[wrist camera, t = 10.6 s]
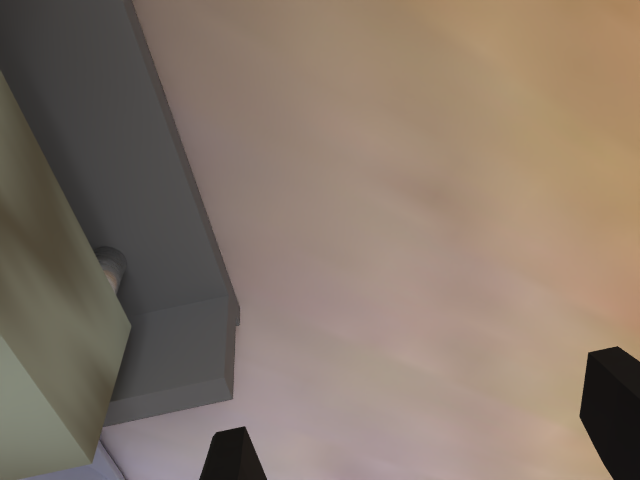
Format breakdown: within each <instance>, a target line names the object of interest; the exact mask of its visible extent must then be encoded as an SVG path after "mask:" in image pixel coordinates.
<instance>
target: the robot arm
mask: <svg viewBox="0 0 640 480" xmlns="http://www.w3.org/2000/svg"><path fill="white" fill-rule="evenodd" d="M580 419H581V421H582V423H583V425H584V427H585V429H586V431H587V433H588V435H589V437H590V439H591V441H592V443H593V445H594V447H595V449H596V450H597V452H598V454H599V456H600V458H601V460H602V462H603V464H604V465H605V467H606V469H607V470H608V472H609V473H610V475H611V476H612V478H613V479H614V480H640V362H639V361H638V360H637V359H635V358H634V357H632V356H631V355H629V354H628V353H627V352H625V351H624V350H622V349H621V348H619V347H618V346H617V347H612V348H607V349H603V350H598V351H593V352H589V353H588V359H587V366H586V373H585V381H584V388H583V395H582V402H581V409H580ZM19 480H125V478H124V477H123V475H122V474H121V472H120V471H119V469H118V468H117V466H116V465H115V463H114V462H113V460H112V459H111V457H110V456H109V454H108V453H107V451H106V450H105V448H104V447H103V445H102V444H101V442H100V441H98V445H97V448H96V452H95V455H94V459H93V462H92V464H89V465H84V466H80V467H75V468H70V469H66V470H61V471H56V472H52V473H47V474H42V475H37V476H33V477H28V478H23V479H19ZM199 480H267V478H266V476H265V473H264V471H263V468H262V466H261V463H260V461H259V459H258V456H257V454H256V451H255V449H254V446H253V444H252V442H251V439H250V437H249V434H248V432H247V429H246V427H245V426H244V427H239V428H235V429H230V430H225V431H221V432H216V434H215V435H214V436H213V438H212V441H211V444H210V448H209V451H208V454H207V458H206V461H205V464H204V467H203V470H202V473H201V476H200V479H199Z"/></svg>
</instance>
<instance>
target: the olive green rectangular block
mask: <svg viewBox="0 0 640 480" xmlns="http://www.w3.org/2000/svg"><path fill="white" fill-rule="evenodd" d="M130 330H131V324H130V322H129V320H128V318H127V316H126V314H125V312H124V310H123V308H122V306H121V304H120V302H119V300H118V298H117V296H116V295H115V293H114V291H113V289H112V287H111V285H110V283H109V281H108V279H107V277H106V275H105V273H104V271H103V269H102V267H101V265H100V263H99V261H98V259H97V257H96V256H95V254H94V252H93V250H92V248H91V246H90V244H89V242H88V240H87V238H86V236H85V234H84V232H83V230H82V228H81V226H80V224H79V222H78V220H77V218H76V217H75V215H74V213H73V211H72V209H71V207H70V205H69V203H68V201H67V199H66V197H65V195H64V193H63V191H62V189H61V187H60V185H59V183H58V181H57V179H56V178H55V176H54V174H53V172H52V170H51V168H50V166H49V164H48V162H47V160H46V158H45V156H44V154H43V152H42V150H41V148H40V146H39V144H38V142H37V140H36V139H35V137H34V135H33V133H32V131H31V129H30V127H29V125H28V123H27V121H26V119H25V117H24V115H23V113H22V111H21V109H20V107H19V105H18V103H17V101H16V100H15V98H14V96H13V94H12V92H11V90H10V88H9V86H8V84H7V82H6V80H5V78H4V76H3V74H2V72H1V70H0V480H19V479H23V478H28V477H33V476H37V475H42V474H47V473H52V472H56V471H61V470H66V469H70V468H75V467H80V466H84V465H89V464H92V462H93V459H94V455H95V452H96V448H97V445H98V441H99V438H100V434H101V431H102V427H103V424H104V420H105V417H106V413H107V410H108V407H109V403H110V400H111V396H112V393H113V389H114V386H115V382H116V379H117V375H118V372H119V368H120V365H121V361H122V358H123V354H124V351H125V347H126V344H127V340H128V337H129V333H130Z"/></svg>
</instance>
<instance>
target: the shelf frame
mask: <svg viewBox="0 0 640 480" xmlns="http://www.w3.org/2000/svg"><path fill="white" fill-rule="evenodd" d="M0 70H1V72H2V74H3V76H4V78H5V80H6V82H7V84H8V86H9V88H10V90H11V92H12V94H13V96H14V98H15V100H16V101H17V103H18V105H19V107H20V109H21V111H22V113H23V115H24V117H25V119H26V121H27V123H28V125H29V127H30V129H31V131H32V133H33V135H34V137H35V139H36V140H37V142H38V144H39V146H40V148H41V150H42V152H43V154H44V156H45V158H46V160H47V162H48V164H49V166H50V168H51V170H52V172H53V174H54V176H55V178H56V179H57V181H58V183H59V185H60V187H61V189H62V191H63V193H64V195H65V197H66V199H67V201H68V203H69V205H70V207H71V209H72V211H73V213H74V215H75V217H76V218H77V220H78V222H79V224H80V226H81V228H82V230H83V232H84V234H85V236H86V238H87V240H88V242H89V244H90V246H91V248H92V250H93V252H94V254H95V256H96V257H97V259H98V261H99V263H100V265H101V267H102V269H103V271H104V273H105V275H106V277H107V279H108V281H109V283H110V285H111V287H112V289H113V291H114V293H115V295H116V296H117V298H118V300H119V302H120V304H121V306H122V308H123V310H124V312H125V314H126V316H127V318H128V320H129V322H130V324H131V330H130V333H129V337H128V340H127V344H126V347H125V351H124V354H123V358H122V361H121V365H120V368H119V372H118V375H117V379H116V382H115V386H114V389H113V393H112V396H111V400H110V403H109V407H108V410H107V413H106V417H105V420H104V424H103V427H106V426H110V425H115V424H120V423H124V422H129V421H134V420H138V419H143V418H148V417H152V416H157V415H161V414H166V413H171V412H175V411H180V410H185V409H189V408H194V407H199V406H203V405H208V404H213V403H217V402H222V401H227V400H231V399H233V384H234V357H235V331H236V326H239V325H240V307H239V304H238V301H237V298H236V296H235V293H234V290H233V287H232V284H231V281H230V279H229V276H228V273H227V270H226V267H225V264H224V262H223V259H222V256H221V253H220V250H219V247H218V244H217V242H216V239H215V236H214V233H213V230H212V227H211V225H210V222H209V219H208V216H207V213H206V210H205V208H204V205H203V202H202V199H201V196H200V193H199V191H198V188H197V185H196V182H195V179H194V176H193V173H192V171H191V168H190V165H189V162H188V159H187V156H186V154H185V151H184V148H183V145H182V142H181V139H180V137H179V134H178V131H177V128H176V125H175V122H174V120H173V117H172V114H171V111H170V108H169V105H168V102H167V100H166V97H165V94H164V91H163V88H162V85H161V83H160V80H159V77H158V74H157V71H156V68H155V66H154V63H153V60H152V57H151V54H150V51H149V49H148V46H147V43H146V40H145V37H144V34H143V31H142V29H141V26H140V23H139V20H138V17H137V14H136V12H135V9H134V6H133V3H132V0H0Z"/></svg>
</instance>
